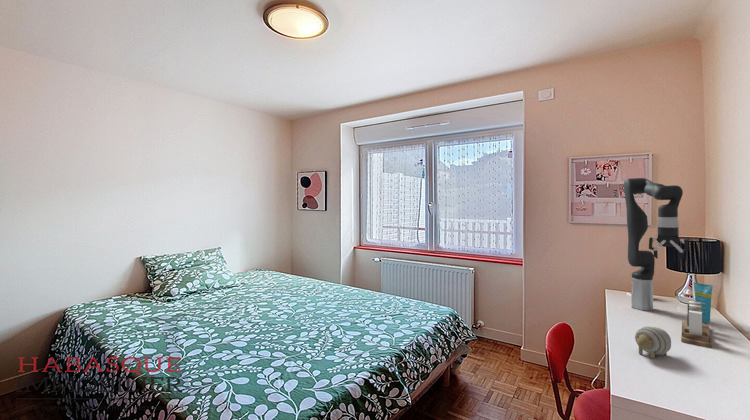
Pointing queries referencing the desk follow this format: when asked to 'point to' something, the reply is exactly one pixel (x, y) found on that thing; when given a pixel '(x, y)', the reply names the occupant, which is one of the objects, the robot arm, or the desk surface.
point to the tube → (704, 299)
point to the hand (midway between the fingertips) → (668, 259)
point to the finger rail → (694, 338)
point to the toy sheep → (653, 341)
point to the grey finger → (694, 322)
